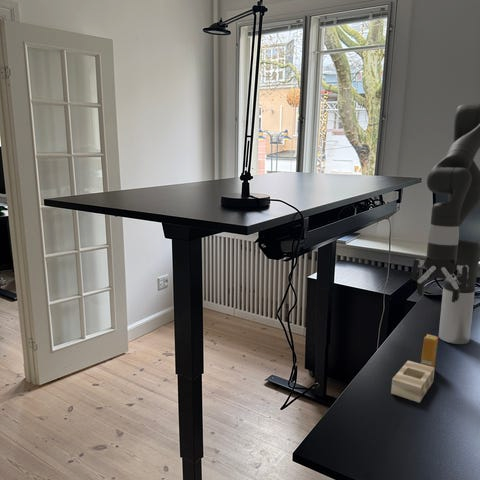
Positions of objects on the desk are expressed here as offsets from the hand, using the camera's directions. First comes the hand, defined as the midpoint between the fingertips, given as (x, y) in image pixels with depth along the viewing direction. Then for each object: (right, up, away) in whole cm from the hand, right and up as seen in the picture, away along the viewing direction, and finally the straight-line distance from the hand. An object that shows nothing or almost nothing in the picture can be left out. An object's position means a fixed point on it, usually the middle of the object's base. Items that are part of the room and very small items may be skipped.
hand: (437, 298), depth 123 cm
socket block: (-10, -22, -7) cm, 25 cm away
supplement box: (-2, -21, +2) cm, 21 cm away
